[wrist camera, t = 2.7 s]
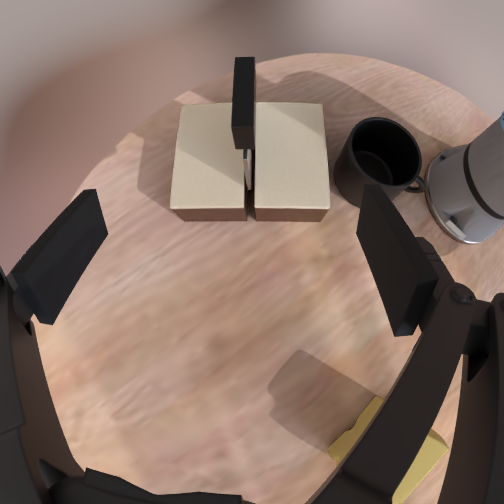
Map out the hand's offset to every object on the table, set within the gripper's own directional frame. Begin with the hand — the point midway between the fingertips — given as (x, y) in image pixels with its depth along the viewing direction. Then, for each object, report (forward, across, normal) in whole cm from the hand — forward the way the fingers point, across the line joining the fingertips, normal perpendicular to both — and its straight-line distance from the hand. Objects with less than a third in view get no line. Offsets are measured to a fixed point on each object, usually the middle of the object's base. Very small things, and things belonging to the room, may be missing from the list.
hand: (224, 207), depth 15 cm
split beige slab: (+27, 0, -9) cm, 29 cm away
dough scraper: (+23, 0, -5) cm, 23 cm away
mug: (+27, +17, -10) cm, 33 cm away
